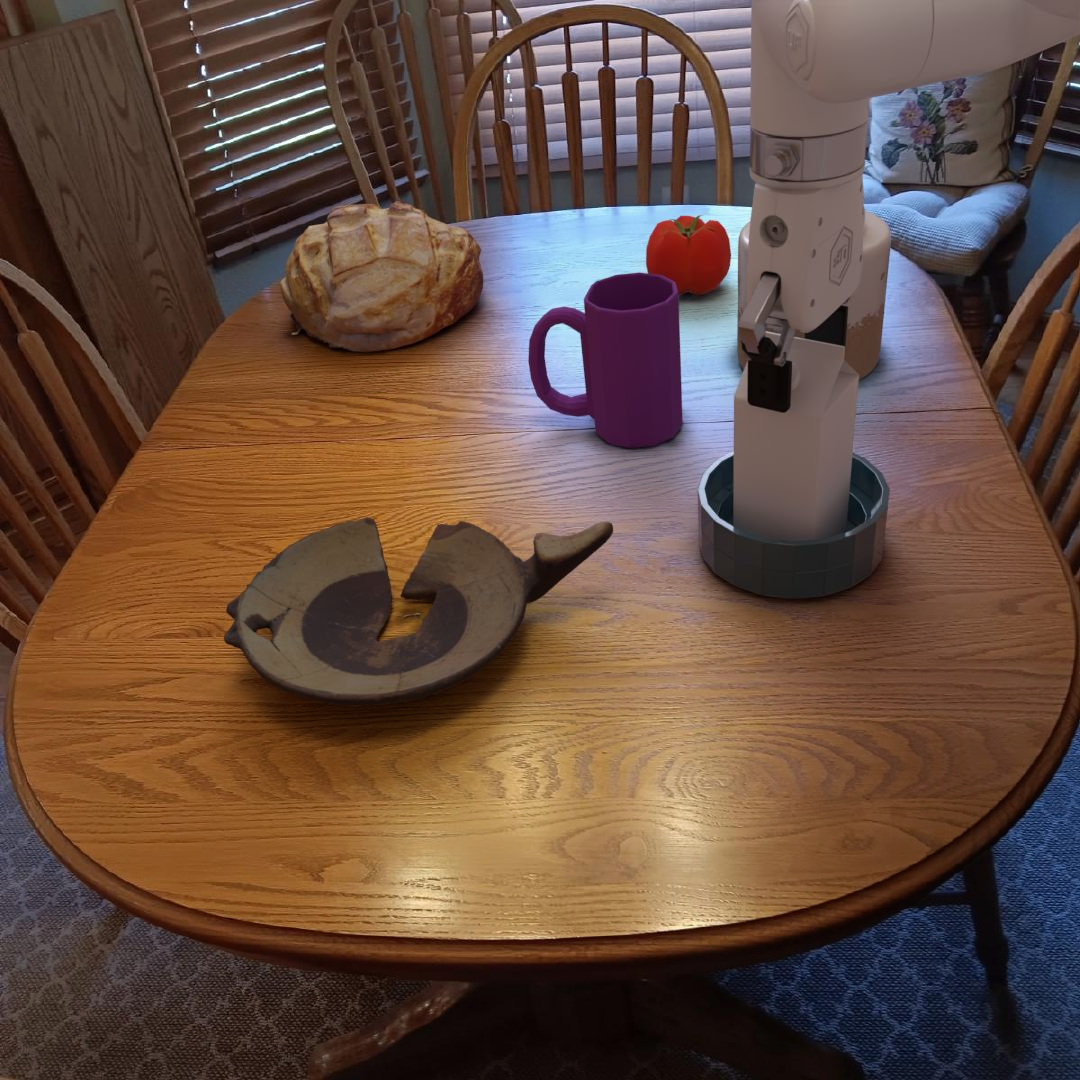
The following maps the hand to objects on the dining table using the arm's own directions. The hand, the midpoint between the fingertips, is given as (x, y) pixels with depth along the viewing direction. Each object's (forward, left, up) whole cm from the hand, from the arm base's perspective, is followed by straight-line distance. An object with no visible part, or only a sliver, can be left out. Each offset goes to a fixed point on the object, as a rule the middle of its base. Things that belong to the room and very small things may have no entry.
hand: (797, 378), depth 80 cm
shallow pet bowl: (0, 0, -16) cm, 16 cm away
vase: (+13, -32, -16) cm, 38 cm away
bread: (+68, -22, -16) cm, 73 cm away
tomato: (+34, -43, -16) cm, 57 cm away
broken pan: (+20, +25, -16) cm, 36 cm away
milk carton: (0, 0, -16) cm, 16 cm away
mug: (+25, -10, -16) cm, 32 cm away
